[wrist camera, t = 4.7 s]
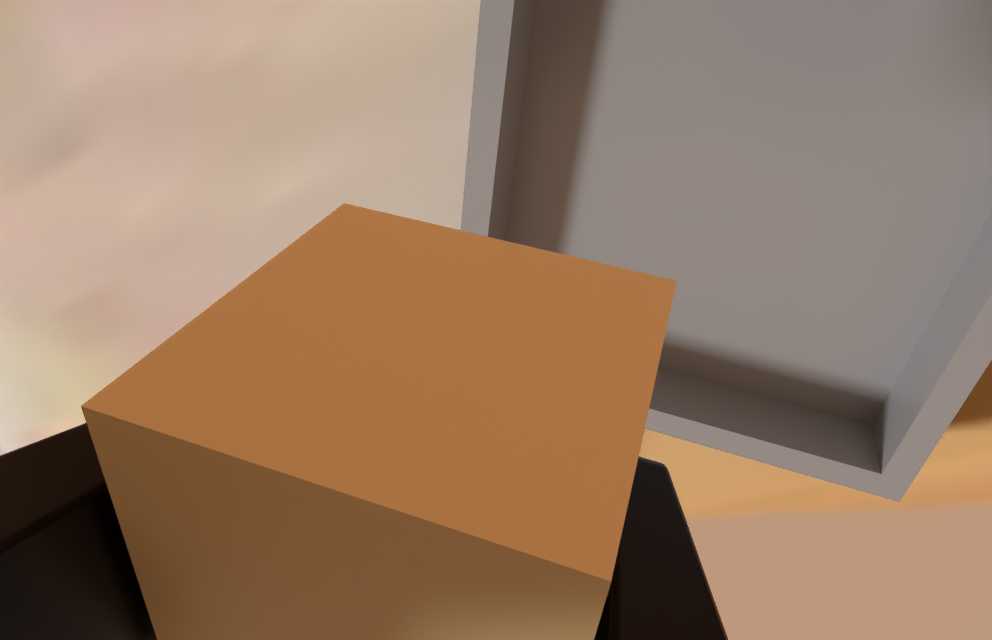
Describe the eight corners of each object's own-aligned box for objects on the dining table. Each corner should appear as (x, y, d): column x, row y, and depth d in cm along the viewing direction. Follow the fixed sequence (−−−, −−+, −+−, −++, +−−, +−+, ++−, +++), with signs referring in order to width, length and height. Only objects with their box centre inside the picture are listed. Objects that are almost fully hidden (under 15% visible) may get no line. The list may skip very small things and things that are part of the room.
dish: (477, 325, 22) (448, 371, 20) (528, -133, 15) (492, -134, 13) (884, 436, 19) (899, 501, 17) (1166, -47, 12) (1245, -31, 10)
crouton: (353, 443, 11) (173, 689, 7) (343, 203, 8) (81, 405, 5) (610, 524, 10) (534, 842, 7) (677, 281, 7) (610, 580, 4)
